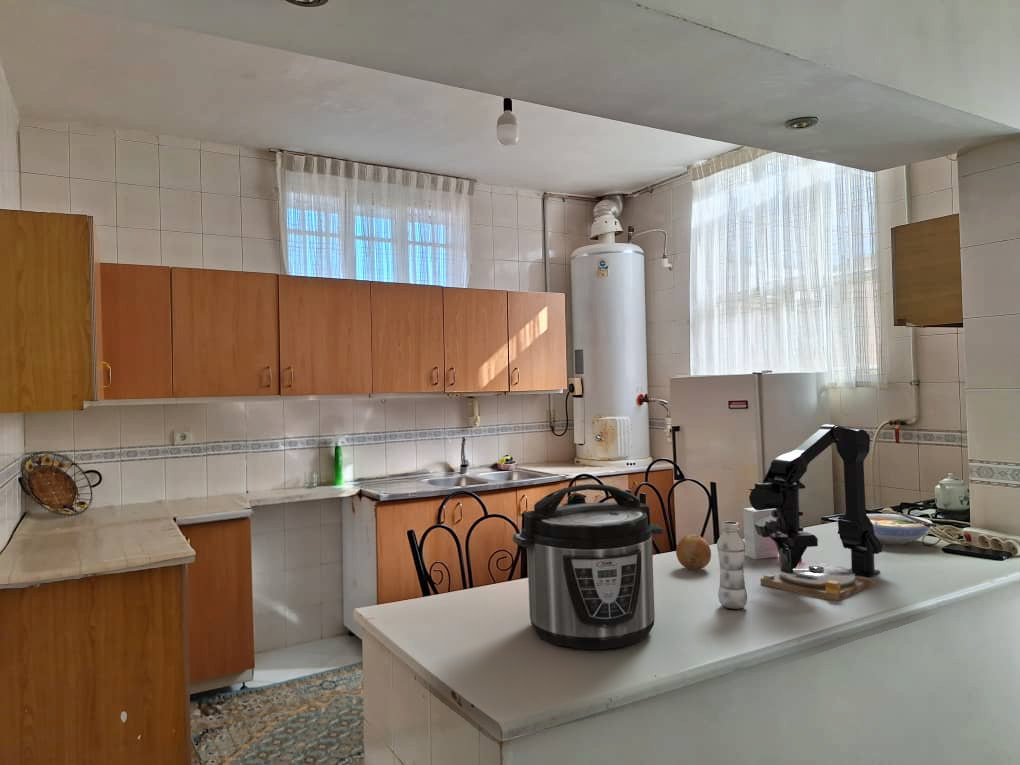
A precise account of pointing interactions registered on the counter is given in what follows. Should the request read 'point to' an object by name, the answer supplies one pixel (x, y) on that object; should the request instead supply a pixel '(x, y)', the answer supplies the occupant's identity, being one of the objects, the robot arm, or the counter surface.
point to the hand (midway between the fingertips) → (788, 566)
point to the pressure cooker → (590, 568)
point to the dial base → (830, 592)
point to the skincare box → (754, 542)
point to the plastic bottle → (731, 567)
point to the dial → (813, 573)
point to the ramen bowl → (898, 527)
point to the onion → (693, 552)
